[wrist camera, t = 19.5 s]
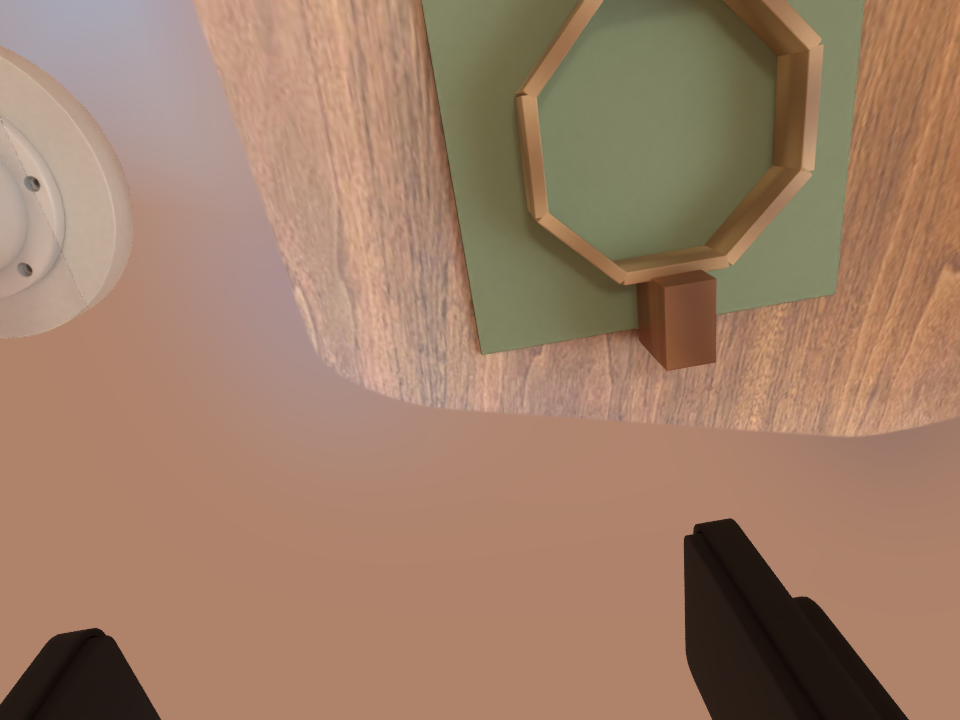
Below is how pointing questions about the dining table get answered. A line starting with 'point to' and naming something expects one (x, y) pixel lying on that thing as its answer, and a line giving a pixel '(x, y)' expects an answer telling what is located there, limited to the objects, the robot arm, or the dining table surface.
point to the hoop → (682, 273)
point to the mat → (631, 154)
